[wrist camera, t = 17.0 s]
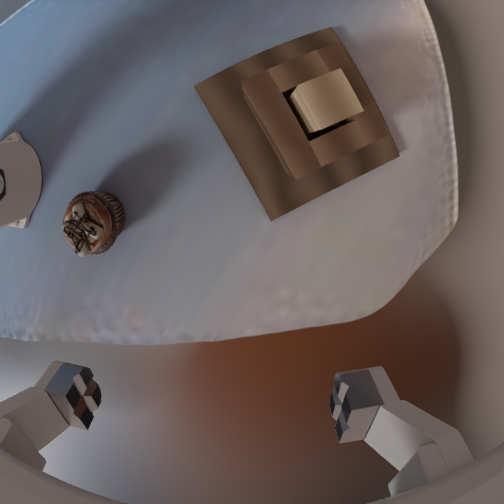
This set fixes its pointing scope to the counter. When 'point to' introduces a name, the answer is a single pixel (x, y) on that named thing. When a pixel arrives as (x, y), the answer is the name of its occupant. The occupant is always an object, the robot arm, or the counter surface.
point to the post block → (295, 123)
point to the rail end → (324, 101)
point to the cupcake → (93, 222)
